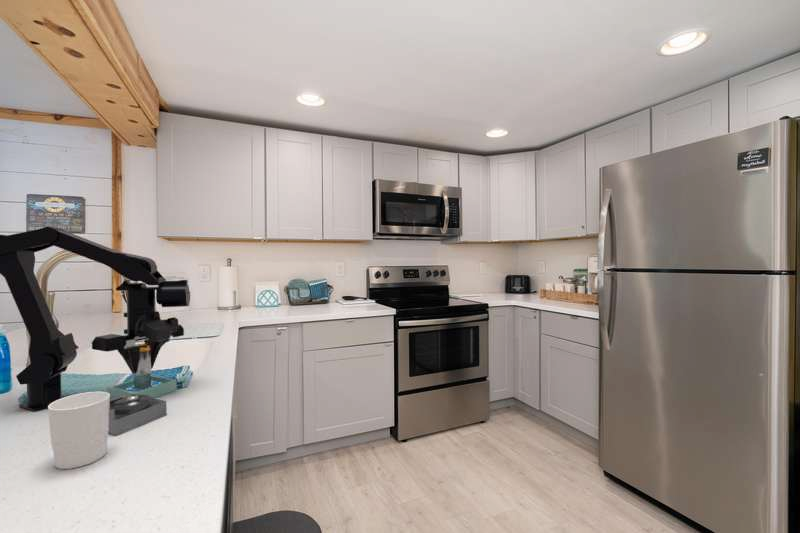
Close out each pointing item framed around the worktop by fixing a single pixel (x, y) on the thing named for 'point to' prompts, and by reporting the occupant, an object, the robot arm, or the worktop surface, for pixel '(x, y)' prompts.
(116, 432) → the tensioner block
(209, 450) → the worktop surface
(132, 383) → the tray
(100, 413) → the white cup
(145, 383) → the grey orange-capped bottle
